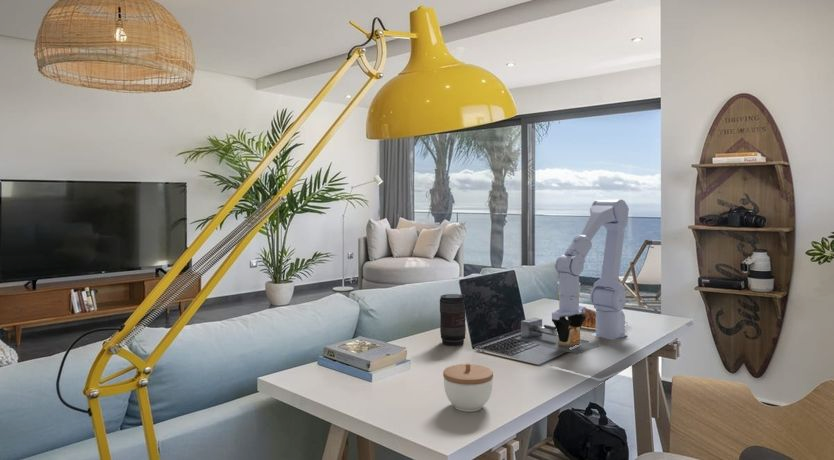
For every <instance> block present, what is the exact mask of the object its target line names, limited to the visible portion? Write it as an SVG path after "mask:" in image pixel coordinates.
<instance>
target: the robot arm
mask: <svg viewBox="0 0 834 460" xmlns="http://www.w3.org/2000/svg"><path fill="white" fill-rule="evenodd" d="M629 211H630V208H629V206H628V205H627V202H626V201H625V200H624V199H621V198H620V199H595V200H594V201H593V203H592V204H591V206H590V207H589V214H590V216H589V218H588V220H587V221H586V223H585V225H584V228H583V230H582V232H581V233H580V235H576V236H574V237H573V239H572V241H571V243H570V245H569V246H568V248H567V249H566V251H565V253H564V254H562V255H560V256H558V258H557V259H556V261H555V264H554V269H555V272H556V273H557V279H558V284H559V285H558V288H559V289H558V291H559V292H558V293H559V294H558V295H559V296H558V302H559V303H558V305H559V306H558V307H559V308H558V309H557V310H555V311H554V312H551V322H552V323H553V326H554V327H556V330H557V336H558V337H559V341H561V342H567V337H568V329H569V325H574V326H579V327H580V330H581V329H582V326H583V324H584V321H585V320H586V317H587V316H586V306H583V305H580V275H581V274H582V272H583V271H584V267H585V262H586V259H585V258H586V257H587V255H588V254H589V252H590V250H591V249H592V247H593V242H592V240H593V238H594V237H595V236H596V235H597V233H598V232H599V230H600V229H601V228H602V226H603V227H604V228H605V229H606V236H605V244H604V250H603V251H604V252H603V259H602V266H601V267H602V268H601V276H600V278H599V279H598V280H596V281H595V282H594V283H593V287H592V290H591V292H590V295H589V300H590V302H591V304H592V305H593V308H594V309H595V332H594V333H591V334H590V336H593V337H598V338H603V339H608V340H616V339H619V338H625V337H627V336H628V333H626V332H625V331H626V328H625V327H626V326H625V325H626V315H625V313H624V311H623V309H624V307H625V305H626V303H627V297H626V286H625V285H624V284H622V283H621V281H620V280H619V277H620V270H621V262H622V255H623V245H624V239H625V231H626V227H627V225H628V216H629Z"/></svg>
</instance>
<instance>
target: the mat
mask: <svg viewBox="0 0 834 460" xmlns="http://www.w3.org/2000/svg"><path fill="white" fill-rule="evenodd" d="M513 339H514V340H518V341H523V342H526V343H530V344H535V345H539V346H543V347H547V348H551V349H555V350H558V351H563V352H567V353H570V354H574V355H575V354H576V355H578V354H582V353H583V352H587V351H590V350H593V349H596V348H600V347H602V345H601V344H597V343H593V342H587V341H586V342H587V343H585V344H583V345H580V346H579V347H577V348H575V349H572V350H570V349H569V347H565V346H560V345H558V334H557V335H556V336H552V335H547V334H543V333H542V335H541V336H537V337H533V338H530V339H527V338H523V337H521V336H518V337H514V338H513Z"/></svg>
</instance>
